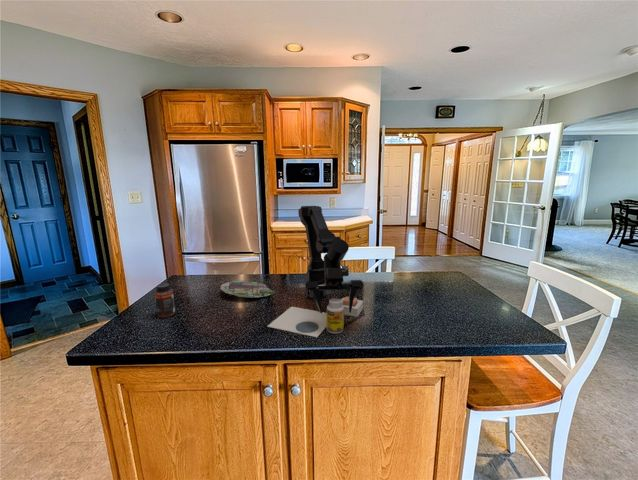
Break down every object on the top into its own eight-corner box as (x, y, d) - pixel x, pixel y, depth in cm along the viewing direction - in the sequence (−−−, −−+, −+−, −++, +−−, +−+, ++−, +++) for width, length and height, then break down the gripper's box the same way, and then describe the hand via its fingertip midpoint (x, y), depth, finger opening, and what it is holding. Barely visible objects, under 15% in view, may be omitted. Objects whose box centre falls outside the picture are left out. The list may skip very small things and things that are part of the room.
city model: (286, 300, 127) (287, 286, 126) (231, 307, 114) (232, 291, 113) (261, 285, 147) (262, 272, 147) (212, 289, 134) (213, 275, 133)
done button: (342, 306, 110) (342, 300, 110) (346, 302, 114) (346, 296, 114) (353, 308, 109) (353, 302, 108) (357, 304, 112) (357, 298, 112)
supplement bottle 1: (179, 312, 110) (176, 283, 108) (166, 319, 105) (162, 288, 103) (166, 310, 112) (163, 281, 110) (153, 317, 107) (149, 286, 105)
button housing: (336, 313, 110) (336, 305, 109) (343, 304, 117) (343, 297, 116) (357, 316, 107) (357, 309, 106) (363, 308, 114) (363, 300, 113)
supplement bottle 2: (324, 333, 96) (324, 302, 94) (329, 325, 101) (329, 296, 99) (341, 335, 94) (341, 304, 92) (345, 327, 99) (345, 298, 97)
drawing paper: (267, 326, 100) (267, 325, 100) (291, 307, 115) (291, 306, 115) (317, 337, 93) (317, 336, 93) (335, 315, 108) (335, 314, 108)
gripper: (305, 257, 96) (306, 303, 88) (363, 256, 97) (369, 302, 88) (305, 273, 105) (306, 316, 97) (358, 272, 106) (363, 315, 98)
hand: (335, 312), depth 95 cm, fingers open, 9 cm apart
